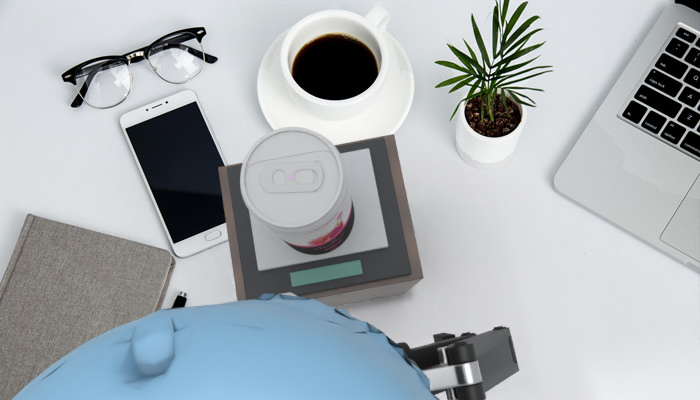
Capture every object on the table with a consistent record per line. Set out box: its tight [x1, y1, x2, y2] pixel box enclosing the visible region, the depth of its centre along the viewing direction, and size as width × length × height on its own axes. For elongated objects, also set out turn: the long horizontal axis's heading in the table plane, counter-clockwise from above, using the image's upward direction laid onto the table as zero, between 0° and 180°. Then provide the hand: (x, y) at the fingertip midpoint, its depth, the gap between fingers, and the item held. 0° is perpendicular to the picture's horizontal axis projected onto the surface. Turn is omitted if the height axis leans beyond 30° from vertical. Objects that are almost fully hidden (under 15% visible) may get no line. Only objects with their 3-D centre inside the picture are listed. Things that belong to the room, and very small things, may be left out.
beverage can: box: [240, 126, 355, 255], centre depth 44 cm, size 6×7×15 cm
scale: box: [227, 138, 412, 300], centre depth 52 cm, size 12×14×2 cm
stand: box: [217, 133, 425, 308], centre depth 69 cm, size 13×16×32 cm
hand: (345, 371), depth 43 cm, fingers open, 13 cm apart
